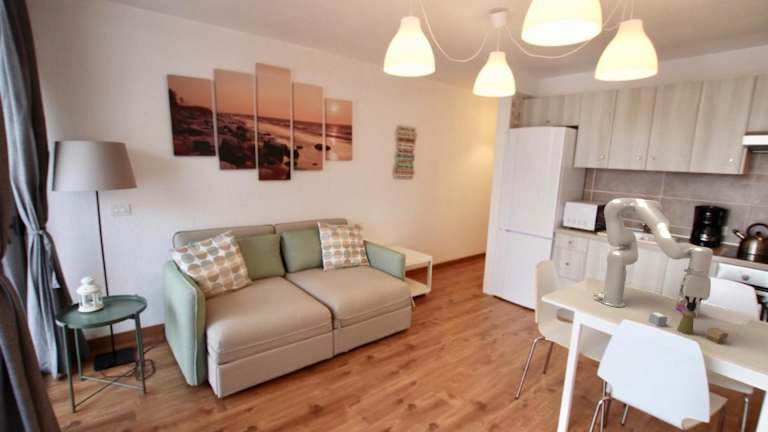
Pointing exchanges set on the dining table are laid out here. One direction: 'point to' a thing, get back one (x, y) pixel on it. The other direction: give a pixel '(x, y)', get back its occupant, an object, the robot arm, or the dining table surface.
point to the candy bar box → (683, 304)
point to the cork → (687, 322)
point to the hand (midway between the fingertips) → (690, 309)
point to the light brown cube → (717, 336)
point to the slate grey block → (657, 319)
